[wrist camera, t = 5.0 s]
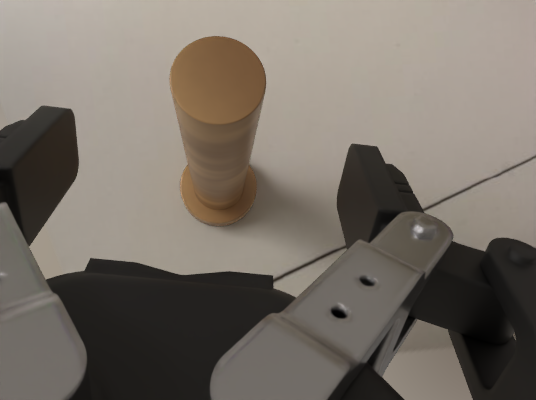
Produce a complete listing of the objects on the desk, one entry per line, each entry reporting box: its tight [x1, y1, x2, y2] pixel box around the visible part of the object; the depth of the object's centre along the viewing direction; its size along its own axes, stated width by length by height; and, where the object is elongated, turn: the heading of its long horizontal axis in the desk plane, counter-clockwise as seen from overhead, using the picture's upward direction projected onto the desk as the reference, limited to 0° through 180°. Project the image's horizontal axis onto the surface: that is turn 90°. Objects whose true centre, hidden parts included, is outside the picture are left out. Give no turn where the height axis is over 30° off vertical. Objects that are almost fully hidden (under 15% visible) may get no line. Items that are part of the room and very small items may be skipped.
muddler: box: [170, 36, 266, 226], centre depth 19 cm, size 4×4×13 cm
